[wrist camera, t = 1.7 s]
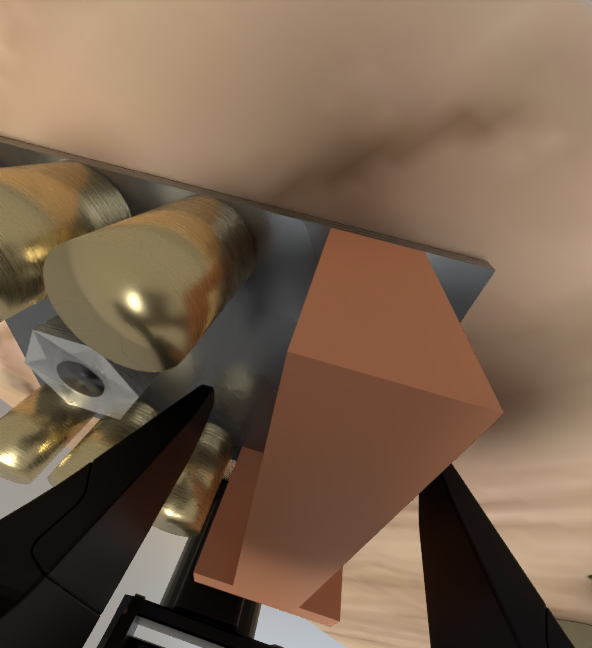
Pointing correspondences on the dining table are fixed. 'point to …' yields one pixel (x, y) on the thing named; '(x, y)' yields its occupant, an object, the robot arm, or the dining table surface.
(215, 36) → the dining table surface
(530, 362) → the dining table surface
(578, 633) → the reusable coffee cup
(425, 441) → the copper l-bar
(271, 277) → the plate
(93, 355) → the nut
